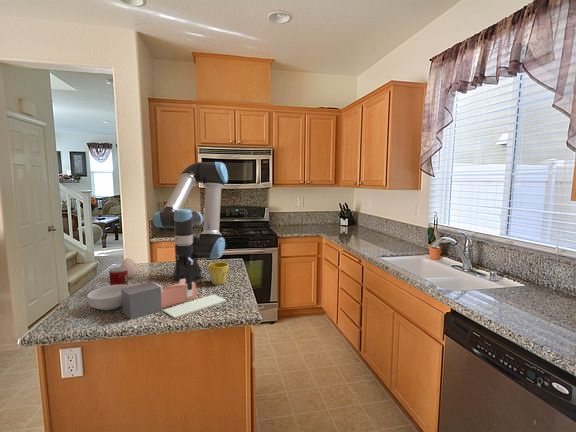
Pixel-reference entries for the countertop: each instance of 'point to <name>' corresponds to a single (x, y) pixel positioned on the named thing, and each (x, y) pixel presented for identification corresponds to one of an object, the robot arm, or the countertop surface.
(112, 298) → the cereal bowl
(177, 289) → the long pink block
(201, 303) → the pale green flat board
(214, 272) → the plant pot
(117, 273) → the canned food
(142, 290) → the grey block
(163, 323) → the countertop surface
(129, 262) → the egg
